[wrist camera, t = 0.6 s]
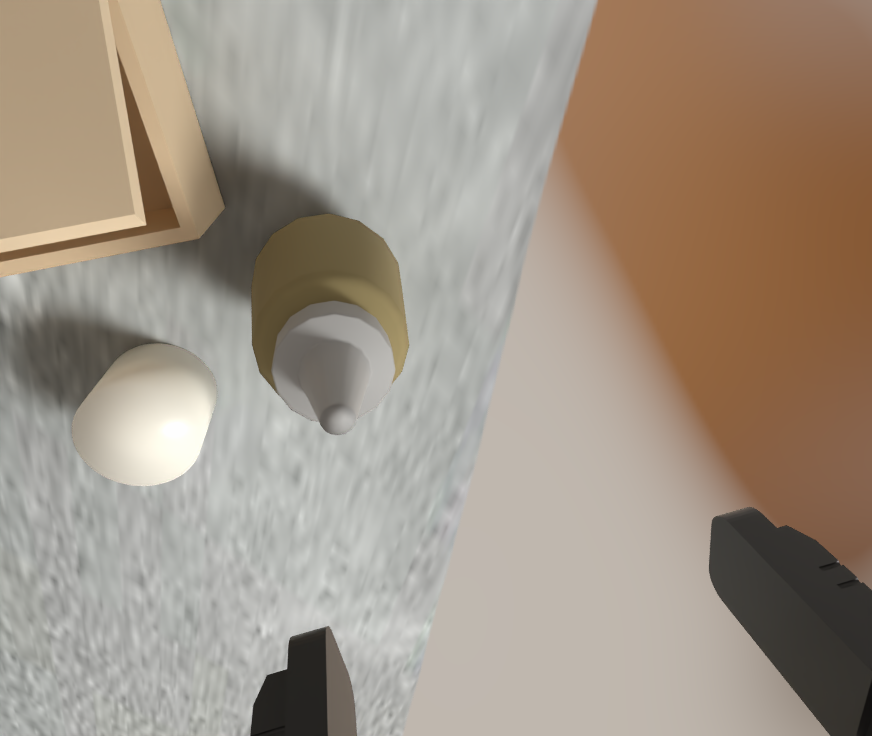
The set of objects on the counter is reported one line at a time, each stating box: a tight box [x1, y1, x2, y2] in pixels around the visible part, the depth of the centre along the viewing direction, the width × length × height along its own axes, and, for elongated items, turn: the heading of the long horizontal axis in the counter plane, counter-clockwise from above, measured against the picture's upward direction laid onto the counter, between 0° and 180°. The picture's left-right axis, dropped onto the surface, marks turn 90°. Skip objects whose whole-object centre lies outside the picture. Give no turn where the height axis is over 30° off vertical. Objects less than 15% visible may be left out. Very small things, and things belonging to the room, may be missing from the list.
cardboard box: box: [0, 0, 225, 277], centre depth 25 cm, size 11×12×8 cm
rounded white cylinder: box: [72, 343, 217, 486], centre depth 33 cm, size 6×6×6 cm
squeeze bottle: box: [251, 214, 409, 435], centre depth 26 cm, size 8×8×18 cm
